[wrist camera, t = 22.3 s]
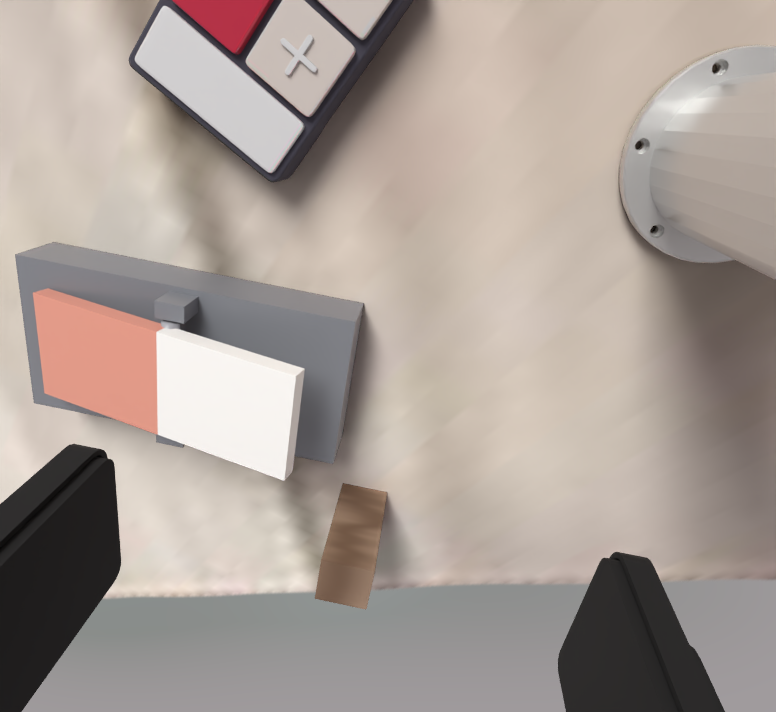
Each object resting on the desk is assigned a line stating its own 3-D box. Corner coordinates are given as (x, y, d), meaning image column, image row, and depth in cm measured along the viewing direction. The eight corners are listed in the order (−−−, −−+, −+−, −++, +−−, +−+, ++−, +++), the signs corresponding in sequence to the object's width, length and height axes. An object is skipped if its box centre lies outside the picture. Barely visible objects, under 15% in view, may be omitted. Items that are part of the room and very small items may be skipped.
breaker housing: (363, 303, 40) (350, 334, 34) (342, 435, 45) (327, 481, 39) (53, 242, 40) (-10, 262, 35) (66, 380, 46) (13, 417, 40)
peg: (387, 492, 47) (374, 571, 39) (379, 526, 49) (366, 609, 41) (342, 483, 47) (321, 560, 39) (336, 517, 49) (314, 598, 41)
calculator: (429, -41, 28) (270, 187, 33) (429, -19, 32) (287, 182, 37) (260, -209, 26) (117, 61, 31) (282, -163, 30) (152, 69, 35)
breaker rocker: (310, 361, 34) (296, 373, 32) (297, 467, 38) (284, 483, 36) (57, 282, 38) (32, 289, 36) (67, 384, 42) (44, 395, 40)
